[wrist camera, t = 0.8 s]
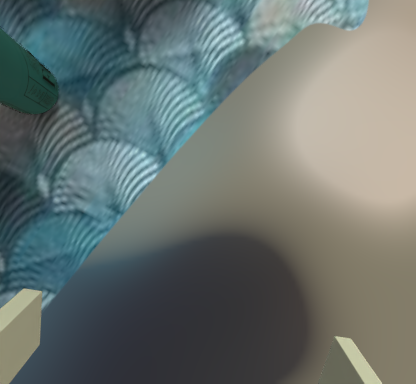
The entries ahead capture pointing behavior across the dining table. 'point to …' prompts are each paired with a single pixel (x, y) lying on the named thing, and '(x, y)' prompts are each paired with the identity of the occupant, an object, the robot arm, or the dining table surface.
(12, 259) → the dining table surface
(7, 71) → the beverage bottle
